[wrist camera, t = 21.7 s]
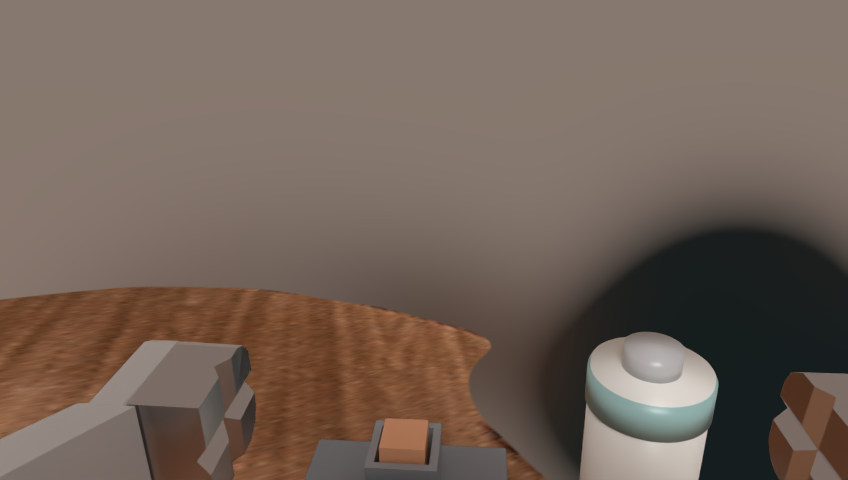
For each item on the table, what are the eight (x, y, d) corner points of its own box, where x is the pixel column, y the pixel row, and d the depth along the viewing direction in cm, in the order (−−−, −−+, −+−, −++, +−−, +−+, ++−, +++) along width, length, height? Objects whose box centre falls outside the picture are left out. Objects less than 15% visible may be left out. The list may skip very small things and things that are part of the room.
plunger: (381, 486, 38) (378, 447, 37) (387, 454, 41) (385, 418, 40) (425, 488, 38) (424, 450, 37) (429, 456, 40) (428, 420, 39)
